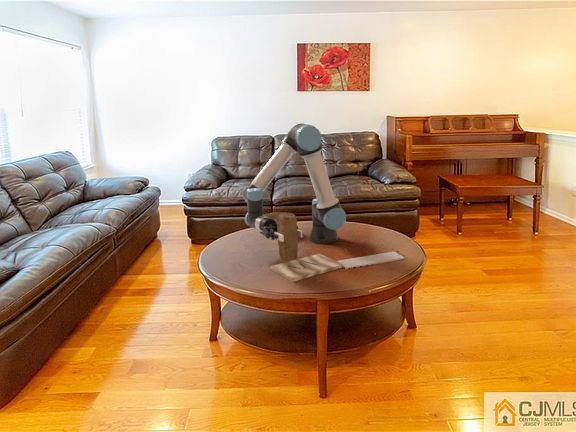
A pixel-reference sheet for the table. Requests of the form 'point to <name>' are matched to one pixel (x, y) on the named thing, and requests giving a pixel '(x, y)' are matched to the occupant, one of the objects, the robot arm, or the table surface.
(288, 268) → the board
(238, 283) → the table surface
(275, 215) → the planter bowl
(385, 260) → the baseboard
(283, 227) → the block
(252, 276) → the table surface
